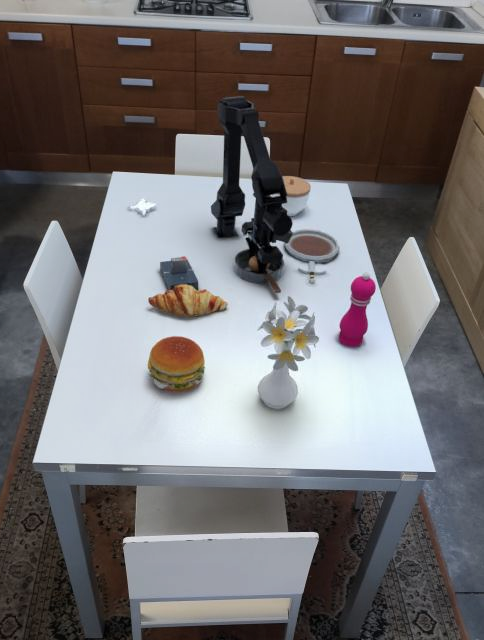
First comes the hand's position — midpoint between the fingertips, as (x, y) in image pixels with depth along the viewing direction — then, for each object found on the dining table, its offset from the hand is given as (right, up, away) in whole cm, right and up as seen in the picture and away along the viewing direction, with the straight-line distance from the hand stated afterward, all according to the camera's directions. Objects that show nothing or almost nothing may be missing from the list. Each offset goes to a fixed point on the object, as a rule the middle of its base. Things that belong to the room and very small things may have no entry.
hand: (258, 268), depth 187 cm
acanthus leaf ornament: (-37, +25, +22) cm, 50 cm away
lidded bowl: (+11, +27, +27) cm, 40 cm away
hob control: (-23, -5, -5) cm, 24 cm away
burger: (-21, -36, -33) cm, 53 cm away
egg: (0, 0, 0) cm, 0 cm away
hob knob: (-23, -3, -8) cm, 24 cm away
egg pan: (0, -1, +1) cm, 1 cm away
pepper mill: (+23, -24, -19) cm, 38 cm away
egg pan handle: (+3, -7, -8) cm, 11 cm away
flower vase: (+3, -42, -37) cm, 56 cm away
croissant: (-20, -15, -14) cm, 29 cm away
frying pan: (+16, +5, +7) cm, 18 cm away
